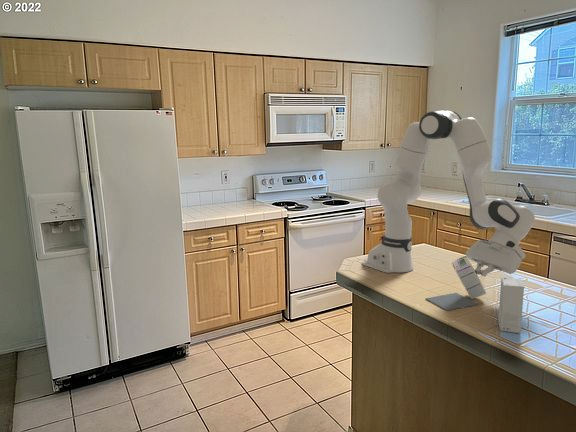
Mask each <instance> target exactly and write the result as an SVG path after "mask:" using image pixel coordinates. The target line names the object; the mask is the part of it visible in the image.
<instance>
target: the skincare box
mask: <svg viewBox="0 0 576 432" xmlns="http://www.w3.org/2000/svg"><path fill="white" fill-rule="evenodd" d="M499 291H500V294H499V305H498V306H499V307H498V319H497V321H498V326H499V330H500V331H502V332H509V333H513V334H514V333H515V334H521V333H522V319H523V306H524V305H523V304H524V292H525V286H524V283H523V281H522V279H521V278H520V279H519V278H509V277H501V278H500V290H499Z"/></svg>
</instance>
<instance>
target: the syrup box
mask: <svg viewBox="0 0 576 432" xmlns="http://www.w3.org/2000/svg"><path fill="white" fill-rule="evenodd" d="M451 264H452V267H453V269H454V271H455V272H456V274H457V276H458V278H459V280H460V282H461V284H462V285H463V287H464V289H465V291H466V293H467V294H468V296H469V299H470V300H473V299H476V298H479V297H481V296H484V295H486V294H487V291H486V289H485V288H484V285H483V283H482V281H481V279H480V278H479V276H478V274H476V272H475V269H474V267H473V265H472V263H471V262H470V260H469V258H468V257H467V256H466V255H465V256H464V255H463V256H462V257H458V258H457V259H455V260H453V261H452V262H451Z"/></svg>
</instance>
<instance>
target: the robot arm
mask: <svg viewBox="0 0 576 432" xmlns="http://www.w3.org/2000/svg"><path fill="white" fill-rule="evenodd" d="M445 139H449V140H451V141H452V142H453V143H454V145H455V149H456V152H457V155H458V157H459V158H458V159H459V162H460V166H461V171H462V172H461V174H462V178H463V183H464V186H465V191H466V195H467V198H468V202H469V219H470V222H471V224H472V225H473V226H474V227H476V229H479V230H488V229H491V228H495V230H496V231H495V232H494V233H493V235H492V236H491V237H490V238H489V240H485V239H480V240H477V241H475V242H474V244H472V245H471V246H470V247H469V248H468V249H467V251H466V252H465V256H467V258H468V260H469V261H472V262H474V263H476V268H475V269H474V270H475V272H476V274H477V275H480V276H482V277H484V278H485V277H486V276H487V275H488V274H490V273H491V272H494V271H495V270H498V271H500V272H503V273H506V274H509V275H512V274H515V273H516V271H517V270H518V269H519V267H520V266H521V264H522V262H523V260H524V259H525V258H526V254H525V252H524V250H523V249H522V248H521V247H520V242H522V241H521V240H523V239H524V238H525V237H526V236H528V235H527V234H528V233H529V232H530V230H531V229H532V227H533V226H534V223H535V220H536V218H535V215H534V213H533V211H532V210H531V209H529V208H528V207H526V206H525V205H516V204H513V203H511V202H509V201H508V200H506V199H503V198H496V199H491V200H489V201H488V199H487V196H486V192H485V189H484V185H483V175H484V172H485V171H486V169H487V167H488V166H489V164H490V163H491V161H492V148H491V146H490V143H489V141H488V138H487V136H486V133H485V131H484V129H483V127H482V126H481V124H480V123H479V121H478V120H477V119H476V118H474V117H464V118H462V117H461V115H460V114H458V113H457V112H456V111H453V110H448V109H447V110H444V109H442V110H430V111H428V112H426V113H425V114H424V115H422V117H421V118H420V120H419V121H414V122H411V123H410V124H409V125H408V127H407V128H406V130H405V131H404V135H403V137H402V139H401V142H400V146H399V150H398V152H397V156H396V160H395V162H394V163H395V165H394V166H395V167H396V178H395V180H392V181H388V182H387V183H385V184H383V185H381V186H380V188H379V189H378V190H377V194H376V195H377V200H378V202H379V204H380V205H381V206H382V208H383V209H382V210H383V211H384V217H385V218H384V219H385V222H384V225H385V227H384V232H385V233H384V235H382V236H380V237H379V241H381V242H380V243H379V244H377V245H376V246H374V247H373V248H371V249H370V250H369V251H368V254H367V258H365V259H364V260H362V263H361V265H362V266H366V267H369V268H371V269H375V270H377V271H380V272H383V273H387V274H389V273H390V274H391V273H408V272H409V273H410V272H411V271H413V270H414V266H413V261H412V260H413V259H412V245H413V237H412V227H413V226H412V224H413V221H412V218H411V216H410V214H409V210H408V204H409V205H410V204H412V203H413V202H415V201H416V200H418V199H419V198H420V196H421V194H422V186H421V177H422V176H421V175H422V169H423V166H424V163H425V160H426V156H427V153H428V150H429V147H430V144H431V142H432V141H433V140H445ZM483 267H486V268H484V269H482V268H483Z"/></svg>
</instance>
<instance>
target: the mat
mask: <svg viewBox="0 0 576 432" xmlns="http://www.w3.org/2000/svg"><path fill="white" fill-rule="evenodd" d="M425 300H426V301H428V302H430V303H431V302H432V304H433V305H436V306H437V307H438V308H440V309H443V310H444V311H446V312H449V311H454V310H459V309H464V308H469V307H474V306H479V305H480V304H479V302H477V301H474V300H473V299H471V298H468V297H466V296H463V295H462V294H460V293H458V292H454V293H447V294H443V295H436V296H430V297H426V298H425Z"/></svg>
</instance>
